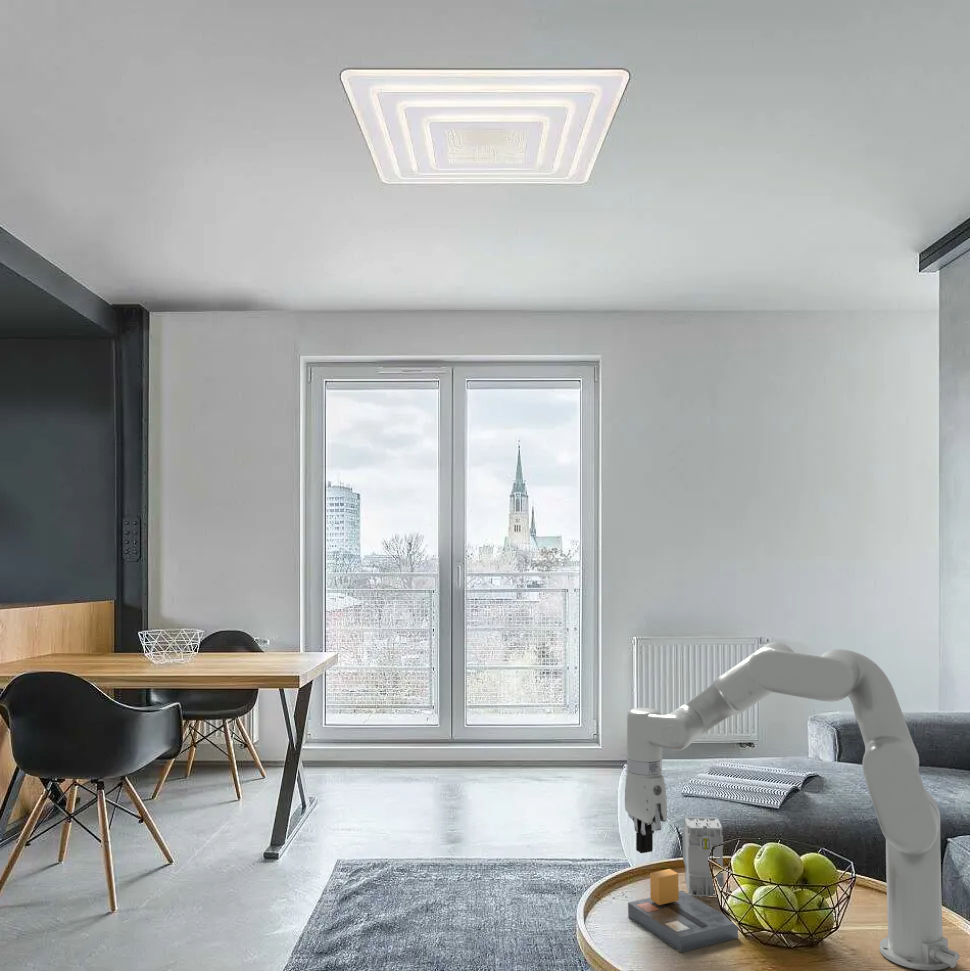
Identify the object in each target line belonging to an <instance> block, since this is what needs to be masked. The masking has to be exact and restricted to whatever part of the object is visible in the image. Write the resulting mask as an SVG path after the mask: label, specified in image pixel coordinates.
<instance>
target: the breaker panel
mask: <svg viewBox="0 0 970 971" xmlns="http://www.w3.org/2000/svg"><path fill="white" fill-rule="evenodd" d="M627 910H628V912H627V913H628V914H627V915H628V917H627V918H629V917H630V918H629V919H631V920H632V919H633V920H634V922H635V923H636V922H637V923H636V924H638V925H639V924H640V925H639V926H641V927H642V928H644V929H645V930H646V931H649V933H651V934H653V935H654V936H655V937H656V938H659V939H660V940H661V941H662V942H665V944H667V945H669V946H670V947H672V948H673V949H675V950H676V951H677V952H678V953H681V954H682V953H685V952H689V951H693V950H697V949H701V948H705V947H708V946H709V947H710V946H712V945H716V944H721V943H724V942H727V941H728V942H729V941H732V940H735V939H738V938H739V926H738V927H737V926H736V925H735V924H734V923H733V922H732V921H730V920H729V919H728V918H727V917H728V916H727V915H726V914H723V913H722V912H720V911H718V910H717V909H715V908H713V907H711V906H709V905H708V904H706V903H705V902H703V901H701V900H699V899H697V898H696V897H694V896H691V895H689V893H688V892H685V891H684V890H679V901H675V902H670V903H666V904H662V905H658V904H657V903H655V902H653V901H652V900H651V897H647V898H642V899H638V900H634V901H630V902H629V901H628V902H627ZM726 916H727V917H726ZM633 920H632V921H633Z"/></svg>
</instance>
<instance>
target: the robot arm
mask: <svg viewBox="0 0 970 971" xmlns="http://www.w3.org/2000/svg"><path fill="white" fill-rule="evenodd" d="M772 693H775V694H781V695H786V696H791V697H797V698H804V699H809V700H815V701H821V702H832V703H833V702H838V701H841V700H842V701H843V700H844V699H846V698H847V697H848V698H849V700H850V702H851V705H852V708H853V713H854V717H855V719H856V722H857V725H858V727H859V731H860V733H861V736H862V740H863V743H864V744H863V745H864V748H865V749H864V750H865V751H864V754H863V757H862V763H861V764H862V773H863V777H864V781H865V784H866V787H867V790H868V792H869V796H870V797H869V798H870V799H871V802H872V805H873V807H874V808H873V809H874V810H875V815H876V817H877V820H878V824H879V828H880V831H881V832H882V834H883V836H884V837H885V863H886V864H885V866H886V868H885V872H886V904H887V905H886V909H887V910H886V911H887V912H886V913H887V915H886V916H887V936H886V937H884V938H883V939H881V940H880V941H879V951H880V953H881V954H882V956H883V957H885V958H886V960H888V961H889V962H890V961H891V962H892V963H894V964H897V965H899V966H902V967H905V968H909V969H912V970H919V971H940V970H945V969H947V968H949V967H950V968H951V969H954V968H956V966H957V964H958V961H959V959H960V953H959V952H956V951H954V950H952V949H949V940H948V938H947V937H944V936H943V935H944V934H943V933H944V932H943V908H942V907H943V906H942V905H943V904H942V902H943V901H942V864H941V862H942V859H941V857H942V856H941V814H940V809H939V806H938V803H937V802H936V800H935V799H934V797H933V795H932V794H930V793H929V792H928V791H927V790H925V787H924V783H923V780H922V778H921V774H920V771H919V767H920V756H919V754H918V750H917V748H916V746H915V744H914V741H913V739H912V735H911V734H910V730H909V727H908V724H907V722H906V718H905V716H904V713H903V710H902V708H901V705H900V703H899V699H898V697H897V695H896V692H895V690H894V687H893V685H892V683H891V681H890V680H889V678H888V676H887V675H886V673H885V672H884V671H883V669H882V668H881V667H880V666H879V665H878V664H877V663H876V662H875V661H873V660H872V659H871V658H869V657H867V656H865V655H864V654H861V653H859V652H855V651H852V650H849V649H840V648H838V649H831V650H828V651H825V652H824V653H823V654H821V655H820V656H819V655H813V654H812V655H811V654H805V653H798V652H795V651H794V650H793V649H792V648H791V647H790V646H788V645H787V644H785V643H783V642H778V641H777V642H774V641H773V642H769V643H767V644H765V645H762V647H760V648H759V649H757V650H756V651H754V652H753V653H751V654H750V655H748V656H747V657H745V658H744V659H743V660H741V661H740V662H739V663H737V664H736V665H734V666H733V667H731V668H730V669H728V670H727V671H725V672H723V673H722V674H720V675H719V676H718V677H717V678H716V679H715V680H714V681H712V683H711V684H709V686H708V687H706V688H705V689H703V691H701V692H700V693H698V694H697V695H695V696H694V697H692V698H691V699H689V700H688V701H686V702H685V703H684V704H683V705H680V706H678V707H677V708H675V709H674V710H672V711H671V712H670V713H667V714H662V713H661V712H660V711H659V710H657V709H656V708H653V707H652V708H651V707H635V708H631V709H630V710H629V711H628V713H627V715H626V717H627V718H626V725H627V726H626V732H627V734H626V742H627V743H626V745H627V746H626V777H625V786H624V809H625V811H626V813H627V814H628V817H629V818H630V819H631V820H632V822H633V826H634V831H635V832H636V833H635V835H636V836H635V837H636V838H635V839H636V840H635V842H636V843H635V850H636V851H637V852H639V853H640V854H645V853H652V852H653V849H654V848H653V846H654V842H653V841H654V840H653V838H654V836H653V835H654V834H655V831H661V830H662V825H661V823H662V822H663V823H664V822H665V823H666V821H667V820H668V804H667V801H668V800H667V799H668V798H667V791H666V784H665V783H666V782H665V778H664V776H663V775H662V774H663V749H666V750H670V751H682V750H685V749H686V748H687V747H689V746H690V745H691V744H693V743H694V742H695V741H696V740H697V739H698V738H700V737H701V736H702V735H704V734H705V733H707V732H708V731H710V730H711V729H713V728H714V727H716V726H718V725H719V724H720V723H722V722H724V721H726V720H727V719H729V718H730V717H733V716H735V715H740V714H742V713H744V712H746V711H747V710H748V709H750V708H751V707H753V706H754V705H756V704H758V703H759V702H760V701H762V700H764V699H765V698H767V696H769V695H771V694H772Z"/></svg>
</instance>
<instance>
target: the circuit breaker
mask: <svg viewBox="0 0 970 971" xmlns="http://www.w3.org/2000/svg"><path fill="white" fill-rule="evenodd" d="M683 819H684V820H683V822H684V823H683V825H684V826H683V825H682V827H681V828H682V829H681V830H682V860H683V864H684V871H685V874H684V875H685V876H684V878H685V885H686V889H687V893H688V894H689V895H691V896H693V897H694V896H699V897H700V896H701V897H702V896H716V895H713V894H715V890H714V886H713V881H712V876H711V873H710V867H709V862H708V857H709V855H710V851H711V849H712V847H713V846H715V845H719V844H723V845H720V846H717V847H715V849H714V850H713V856H714V857H720V858H716V860H715V861H716V862H717V863H718V864H720V865H721V866H722V867H723V868H724V856H723V855H724V854H723V849H724V835H723V826H722V824H721V822H720V820H719V817H718V816H691V815H690V816H687V815H686V816H683ZM716 878H717V881H718V884H719V886H720V887H722V886H723V884H724V885H725V881H724V880H725V879H724V878H725V876H724V872H723V873H720V874H717V876H716ZM694 893H696V894H694ZM701 897H700V898H701ZM702 898H703V897H702Z"/></svg>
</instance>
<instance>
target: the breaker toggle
mask: <svg viewBox="0 0 970 971" xmlns="http://www.w3.org/2000/svg"><path fill="white" fill-rule="evenodd" d="M649 876H650V878H649V879H650V881H649V882H650V898H651V900H652V901H653V902H655V903H657V904H658V905H662V904H666V903H670V902H675V901H679V891H680V890H679V873H678V872H676V871H674V870H673V869H671V868H667V869H663V870H657V871H653V872H650V874H649Z"/></svg>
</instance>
